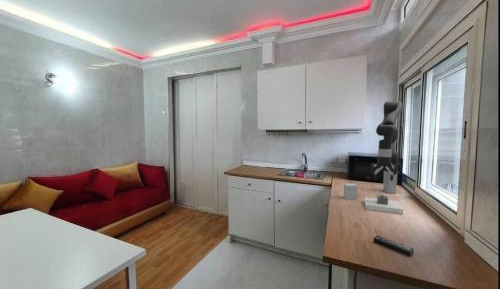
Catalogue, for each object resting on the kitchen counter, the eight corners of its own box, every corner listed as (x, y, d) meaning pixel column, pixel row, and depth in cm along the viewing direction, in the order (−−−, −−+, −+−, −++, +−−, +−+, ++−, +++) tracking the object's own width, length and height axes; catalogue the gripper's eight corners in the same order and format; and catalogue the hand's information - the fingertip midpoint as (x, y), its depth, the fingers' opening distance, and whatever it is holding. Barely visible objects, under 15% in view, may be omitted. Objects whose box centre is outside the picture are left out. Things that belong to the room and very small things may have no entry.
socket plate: (364, 201, 156) (364, 196, 156) (397, 205, 148) (397, 200, 148) (366, 209, 141) (366, 203, 141) (402, 214, 133) (403, 208, 133)
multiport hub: (410, 257, 90) (410, 252, 90) (373, 242, 101) (373, 237, 101) (413, 253, 92) (414, 248, 92) (377, 239, 104) (377, 235, 104)
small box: (354, 197, 166) (354, 183, 165) (357, 199, 160) (357, 185, 159) (343, 196, 166) (343, 183, 165) (345, 199, 161) (346, 185, 160)
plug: (376, 205, 148) (377, 193, 148) (386, 206, 146) (386, 194, 145) (377, 208, 143) (378, 195, 143) (387, 209, 141) (388, 196, 140)
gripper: (396, 155, 142) (394, 179, 144) (371, 154, 148) (370, 177, 149) (398, 157, 135) (397, 182, 137) (372, 155, 141) (371, 180, 143)
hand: (383, 180), depth 143 cm, fingers open, 8 cm apart
